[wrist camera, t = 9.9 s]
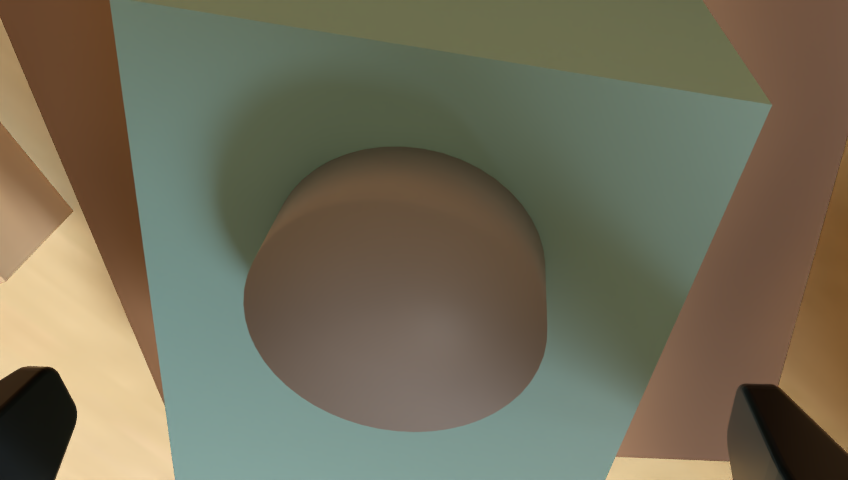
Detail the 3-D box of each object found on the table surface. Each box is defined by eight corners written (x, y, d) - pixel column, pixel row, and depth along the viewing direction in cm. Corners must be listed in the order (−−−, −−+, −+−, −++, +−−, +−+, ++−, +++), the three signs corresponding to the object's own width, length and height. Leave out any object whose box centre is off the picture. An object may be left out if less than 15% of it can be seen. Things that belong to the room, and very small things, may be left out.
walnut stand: (884, -303, 10) (973, -313, 8) (731, 381, 18) (756, 462, 16) (9, -212, 12) (-92, -201, 10) (213, 368, 20) (178, 438, 18)
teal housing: (531, 415, 16) (533, 706, 11) (272, 369, 16) (164, 638, 11) (676, -40, 10) (808, 159, 5) (271, -104, 10) (48, 34, 6)
